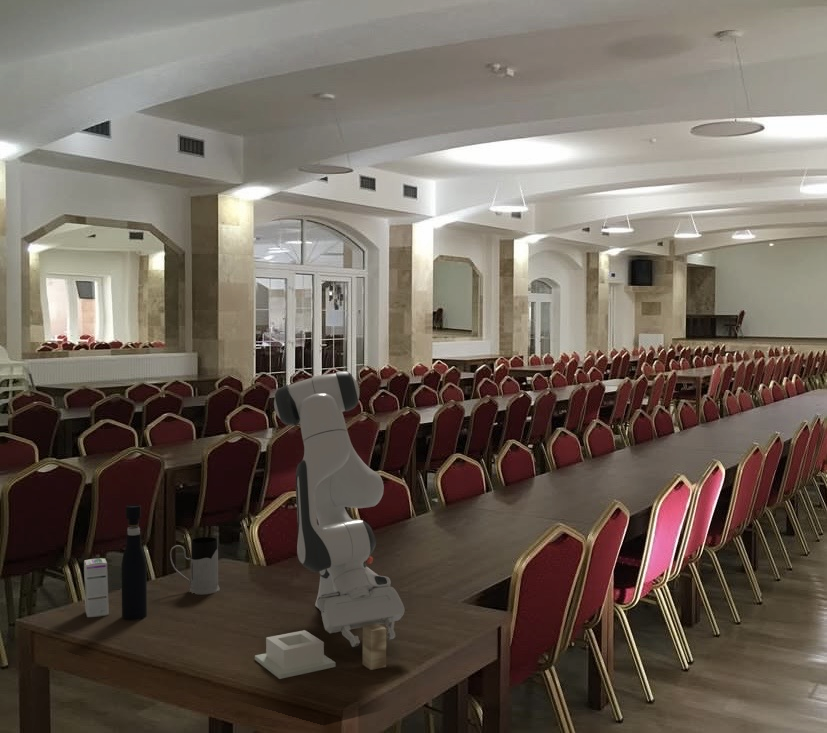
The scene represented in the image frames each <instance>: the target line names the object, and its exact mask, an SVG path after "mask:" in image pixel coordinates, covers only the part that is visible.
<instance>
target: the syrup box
mask: <svg viewBox="0 0 827 733" xmlns="http://www.w3.org/2000/svg"><path fill="white" fill-rule="evenodd" d="M83 574H84V603H85V604H84V611H85V614H86V617H87V618H95V617H102V616H103V617H104V616H108V615H109V610H110V609H109V583H108V582H109V581H108V578H109V577H108V562H107V560H106V558H103V557H100V558H99V557H98V558H89V559H85V560H84V561H83Z"/></svg>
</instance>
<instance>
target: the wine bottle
mask: <svg viewBox="0 0 827 733" xmlns="http://www.w3.org/2000/svg"><path fill="white" fill-rule="evenodd" d="M141 518H142V505H141V504H129V505H126V506H125V519H127V520H128V524H127V525H128V527H127V530H126V531H127V532H126V533H127V534H126V536H125V537H126V538H125V540H126V542H125V543H126V544H125V548H124V551H123V555H122V558H121V618H122V619H123V620H126V621H137V620H143V619H144V618H146V617H147V615H148V610H147V608H148V602H147V600H148V599H147V598H148V597H147V596H148V595H147V594H148V593H147V591H148V590H147V583H148V582H147V558H146V555H145V552H144V548H143V546H142V535H141V531H140V530H141V528H140V526H139V519H141Z"/></svg>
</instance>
